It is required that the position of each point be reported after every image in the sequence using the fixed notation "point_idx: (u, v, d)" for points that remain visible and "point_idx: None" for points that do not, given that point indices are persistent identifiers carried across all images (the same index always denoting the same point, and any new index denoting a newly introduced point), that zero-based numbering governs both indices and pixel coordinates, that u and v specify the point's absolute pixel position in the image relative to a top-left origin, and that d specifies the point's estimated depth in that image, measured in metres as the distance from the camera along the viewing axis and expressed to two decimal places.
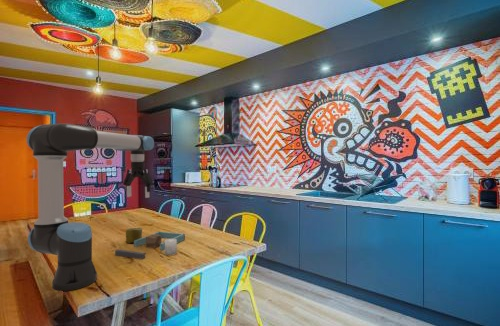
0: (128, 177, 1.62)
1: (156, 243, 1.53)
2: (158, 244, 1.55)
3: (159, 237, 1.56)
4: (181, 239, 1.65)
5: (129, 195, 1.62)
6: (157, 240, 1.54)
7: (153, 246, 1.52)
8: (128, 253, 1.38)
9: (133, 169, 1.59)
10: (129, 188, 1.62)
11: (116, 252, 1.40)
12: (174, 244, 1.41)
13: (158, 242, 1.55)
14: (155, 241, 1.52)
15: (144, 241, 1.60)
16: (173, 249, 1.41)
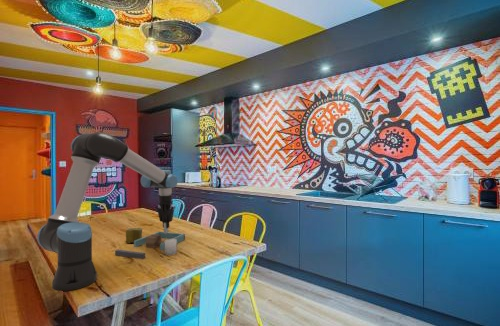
0: (160, 212, 1.67)
1: (156, 243, 1.53)
2: (158, 244, 1.55)
3: (159, 237, 1.56)
4: (181, 239, 1.65)
5: None
6: (157, 240, 1.54)
7: (153, 246, 1.52)
8: (128, 253, 1.38)
9: (160, 202, 1.66)
10: None
11: (116, 252, 1.40)
12: (174, 244, 1.41)
13: (158, 242, 1.55)
14: (155, 241, 1.52)
15: (144, 241, 1.60)
16: (173, 249, 1.41)
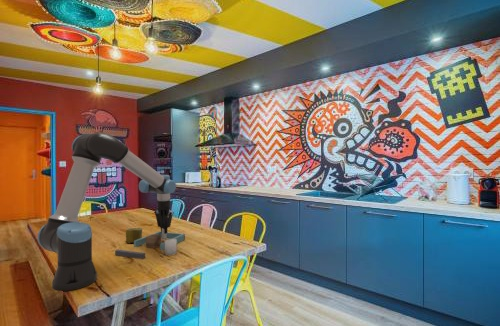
0: (159, 218, 1.65)
1: (156, 243, 1.53)
2: (158, 244, 1.55)
3: (159, 237, 1.56)
4: (181, 239, 1.65)
5: None
6: (157, 240, 1.54)
7: (153, 246, 1.52)
8: (128, 253, 1.38)
9: (158, 207, 1.64)
10: None
11: (116, 252, 1.40)
12: (174, 244, 1.41)
13: (158, 242, 1.55)
14: (155, 241, 1.52)
15: (144, 241, 1.60)
16: (173, 249, 1.41)
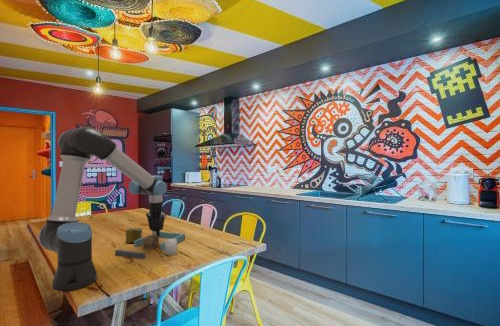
0: (150, 220, 1.59)
1: (153, 244, 1.51)
2: (155, 245, 1.53)
3: (156, 238, 1.54)
4: (181, 239, 1.65)
5: None
6: (154, 241, 1.52)
7: (150, 247, 1.50)
8: (128, 253, 1.38)
9: (150, 209, 1.58)
10: None
11: (116, 252, 1.40)
12: (174, 244, 1.41)
13: (155, 243, 1.53)
14: (152, 242, 1.50)
15: None
16: (173, 249, 1.41)
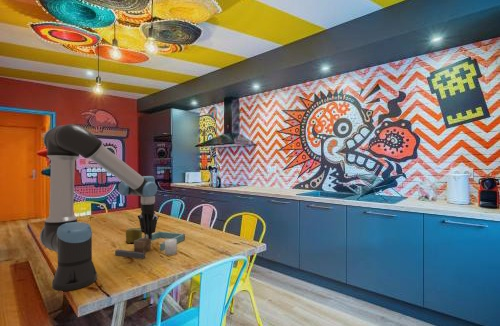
0: (142, 222, 1.52)
1: (145, 248, 1.45)
2: (147, 249, 1.47)
3: (148, 241, 1.47)
4: (181, 239, 1.65)
5: None
6: (146, 244, 1.46)
7: (142, 251, 1.44)
8: (128, 253, 1.38)
9: (142, 211, 1.51)
10: None
11: (116, 252, 1.40)
12: (174, 244, 1.41)
13: (147, 246, 1.47)
14: (144, 246, 1.44)
15: None
16: (173, 249, 1.41)
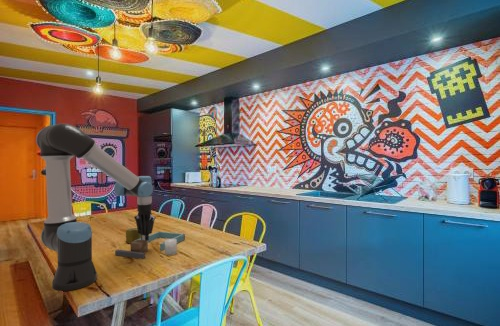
0: (139, 223, 1.50)
1: (141, 250, 1.43)
2: (144, 250, 1.44)
3: (145, 243, 1.45)
4: (181, 239, 1.65)
5: None
6: (142, 246, 1.43)
7: None
8: (128, 253, 1.38)
9: (138, 211, 1.49)
10: None
11: (116, 252, 1.40)
12: (174, 244, 1.41)
13: (144, 248, 1.44)
14: (140, 247, 1.42)
15: None
16: (173, 249, 1.41)
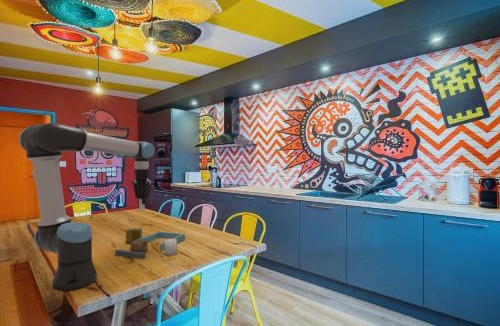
0: (136, 188, 1.55)
1: (141, 250, 1.43)
2: (144, 250, 1.44)
3: (145, 243, 1.45)
4: (181, 239, 1.65)
5: None
6: (142, 246, 1.43)
7: None
8: (128, 253, 1.38)
9: (136, 176, 1.54)
10: None
11: (116, 252, 1.40)
12: (174, 244, 1.41)
13: (144, 248, 1.44)
14: (140, 247, 1.42)
15: None
16: (173, 249, 1.41)
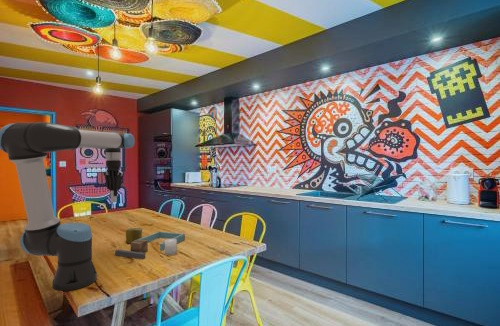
0: (108, 179, 1.52)
1: (141, 250, 1.42)
2: (144, 250, 1.44)
3: (145, 243, 1.45)
4: (181, 239, 1.65)
5: None
6: (142, 246, 1.43)
7: None
8: (128, 253, 1.38)
9: (107, 167, 1.51)
10: None
11: (116, 252, 1.40)
12: (174, 244, 1.41)
13: (144, 248, 1.44)
14: (140, 247, 1.42)
15: None
16: (173, 249, 1.41)
